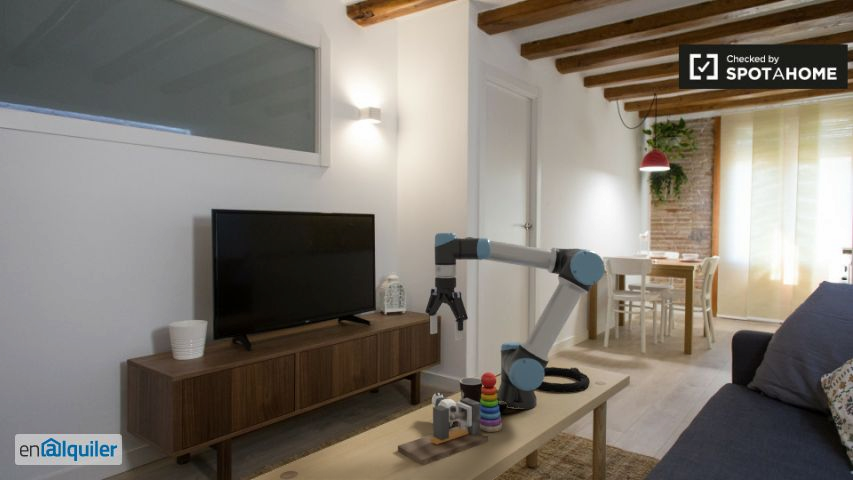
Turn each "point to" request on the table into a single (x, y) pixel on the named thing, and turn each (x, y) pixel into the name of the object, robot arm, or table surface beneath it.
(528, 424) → the table surface
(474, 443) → the board
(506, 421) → the table surface
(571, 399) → the table surface
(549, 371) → the cable lock
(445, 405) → the giant panda
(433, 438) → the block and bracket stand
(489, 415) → the stacking toy
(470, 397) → the coffee mug
